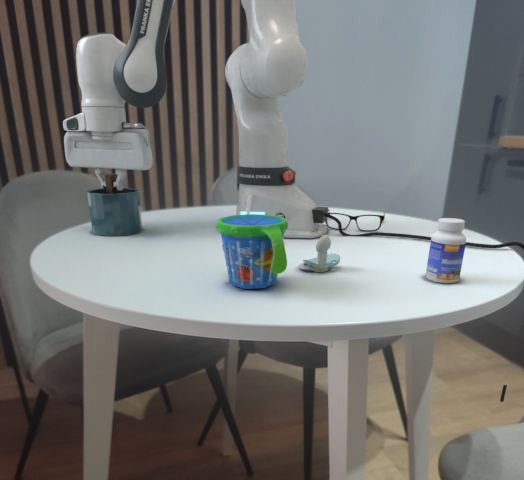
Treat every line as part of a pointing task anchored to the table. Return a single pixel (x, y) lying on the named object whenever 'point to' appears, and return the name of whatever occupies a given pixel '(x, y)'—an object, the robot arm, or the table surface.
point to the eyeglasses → (356, 221)
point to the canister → (115, 212)
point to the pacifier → (321, 257)
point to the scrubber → (110, 183)
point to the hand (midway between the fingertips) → (112, 189)
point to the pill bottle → (446, 251)
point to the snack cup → (253, 249)
